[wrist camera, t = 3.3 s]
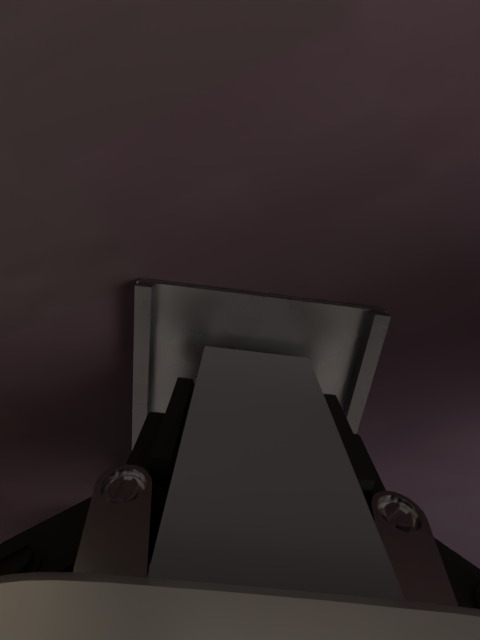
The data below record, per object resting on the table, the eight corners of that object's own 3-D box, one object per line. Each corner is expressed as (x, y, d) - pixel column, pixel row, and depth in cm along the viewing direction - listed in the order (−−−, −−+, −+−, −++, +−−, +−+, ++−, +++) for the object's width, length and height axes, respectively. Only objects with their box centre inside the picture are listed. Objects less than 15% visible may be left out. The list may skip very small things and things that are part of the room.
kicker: (347, 362, 13) (532, 663, 5) (297, 554, 17) (352, 916, 8) (165, 341, 13) (19, 619, 5) (154, 540, 17) (63, 899, 8)
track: (382, 307, 14) (394, 317, 13) (317, 539, 18) (321, 560, 17) (140, 277, 13) (131, 285, 12) (134, 521, 18) (127, 542, 17)
